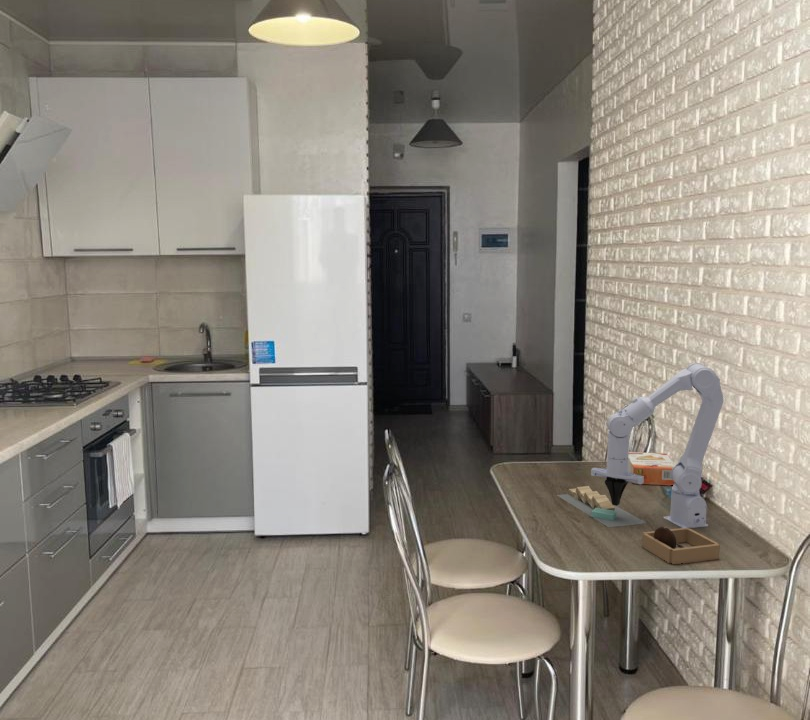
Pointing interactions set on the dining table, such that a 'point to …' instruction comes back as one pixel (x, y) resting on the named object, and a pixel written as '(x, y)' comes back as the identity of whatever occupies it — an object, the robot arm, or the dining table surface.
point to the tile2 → (602, 502)
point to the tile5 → (574, 494)
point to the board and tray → (700, 551)
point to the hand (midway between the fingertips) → (615, 504)
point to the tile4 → (582, 490)
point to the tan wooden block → (589, 496)
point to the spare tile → (604, 514)
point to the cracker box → (651, 467)
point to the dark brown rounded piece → (666, 537)
